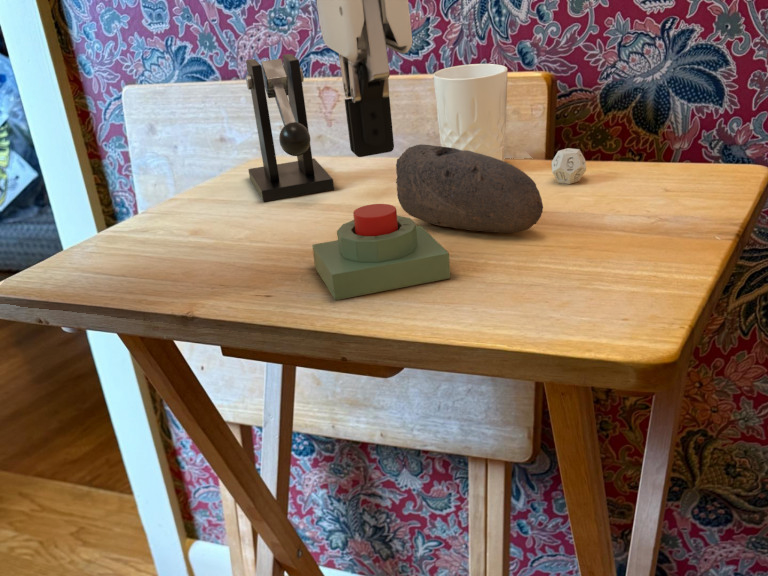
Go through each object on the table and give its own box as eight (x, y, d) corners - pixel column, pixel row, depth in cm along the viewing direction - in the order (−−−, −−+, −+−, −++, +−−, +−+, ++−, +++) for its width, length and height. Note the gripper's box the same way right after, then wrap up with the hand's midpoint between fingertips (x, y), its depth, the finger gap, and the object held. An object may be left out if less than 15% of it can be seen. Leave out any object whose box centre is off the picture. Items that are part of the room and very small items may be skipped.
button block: (335, 300, 73) (328, 252, 71) (315, 269, 79) (308, 223, 77) (450, 278, 75) (448, 231, 72) (422, 249, 81) (419, 204, 79)
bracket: (334, 189, 98) (318, 61, 91) (263, 202, 97) (241, 72, 89) (315, 168, 106) (299, 48, 99) (250, 179, 105) (228, 58, 97)
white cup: (518, 160, 102) (517, 63, 96) (494, 180, 96) (492, 78, 90) (454, 158, 105) (450, 63, 99) (427, 177, 99) (421, 79, 93)
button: (361, 241, 73) (359, 220, 72) (351, 228, 76) (348, 208, 75) (403, 233, 74) (401, 212, 73) (391, 221, 77) (389, 201, 76)
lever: (314, 160, 93) (313, 135, 90) (284, 165, 92) (282, 140, 89) (287, 80, 97) (285, 54, 94) (258, 84, 97) (255, 58, 94)
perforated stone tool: (556, 230, 82) (557, 151, 78) (525, 249, 79) (525, 167, 75) (426, 210, 90) (422, 137, 86) (394, 226, 87) (387, 151, 83)
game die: (567, 188, 92) (568, 157, 90) (543, 181, 94) (544, 151, 93) (593, 180, 93) (594, 150, 92) (569, 173, 96) (569, 144, 94)
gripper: (428, -144, 55) (447, 166, 66) (367, -136, 67) (392, 126, 78) (310, -130, 54) (349, 183, 65) (269, -125, 65) (308, 140, 76)
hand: (372, 151), depth 71 cm, fingers closed
